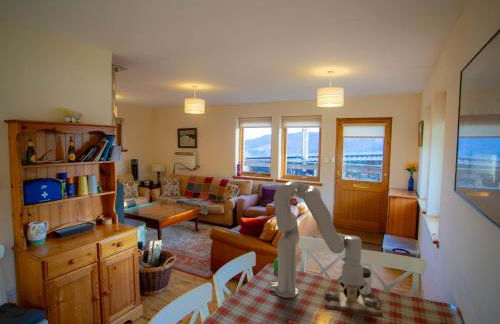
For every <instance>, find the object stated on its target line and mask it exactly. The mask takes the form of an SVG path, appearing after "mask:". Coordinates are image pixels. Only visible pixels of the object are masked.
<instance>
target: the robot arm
mask: <svg viewBox="0 0 500 324" xmlns="http://www.w3.org/2000/svg"><path fill="white" fill-rule="evenodd" d="M321 196H322V195H321V191H320V190H319V189H318V188H317V187H315V186H312V185H310V184H306V183H304V182H300V181H297V180H289V181H287V182H286V183H283V184H282V185H280V186H279V187H278V188H277V189H276V190H275V191H274V195H273V204H274V212H275V213H274V214H275V220H276V226H277V230H278V231H280V232H281V233H282V235H280V237H279V239H278V241H277V258H278V273H277V281H276V282H274V281H270V283H269V286H270V287H271V288H272V289H274V293H275V294H276V295H277V296H279V297H281V298H285V299H291V298H295V297H297V296H299V289H298V288H297V287H296V282H297V280H296V279H297V278H296V277H297V276H296V274H297V253H296V252H297V250H296V249H297V246H298V244H299V243H300V242H299V241H300V233H299V226H298V224H299V223H298V219H297V216H296V215H295V214H294V213H293V212H292V207H291V203H290V200H291V199H293V198H294V197H296V198H299V199H302V200H303V203H304V204H305V205H306V207H307V209H308V211H309V213H310V214H311V216H312V218H313V220H314V221H315V224H316V226H317V228H318V230H319V233H320V235H321V237H322V239H323V240H324V243H325V244H326V246H327V248H328V249H329V250H330V251H331V252H332V253H334V254H341V253H343V251H344V257H341V261H343V262H342V267H341V275H339V277H338V278H337V279H336V282H337V283H338V284H339V285H340V286H341V287H342V288H343V291H342V292H343V294H345V297H347V288H346V287H347V285H354V286H357V299H358V296H359V297H360V295H361V294H360V291H361V289H363V288H364V287H366V286H367V285H368V284H367V282H366V281H365V280H364V278H363V264H362V263H361V262H362V259H361V258H362V239H361V237H359V236H357V235H349V234H348V235H347V234H343V233H340V232H337V230H336V228H335V225H334V222H333V217H332V214H331V212H330V210H329V208H328V207H327V206H326V204H325V202H324V201H323V199H322V197H321Z"/></svg>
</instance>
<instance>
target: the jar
mask: <svg viewBox="0 0 500 324" xmlns="http://www.w3.org/2000/svg"><path fill="white" fill-rule="evenodd" d="M362 267H363V266H362ZM363 278H364V280H365V281H366V282H367V284H368V285H367V286H366V287H364V288H363V289H361V291H360V295H362V296H367V295H370V294H371V293H372V271H371V269H369V268H367V267H363Z"/></svg>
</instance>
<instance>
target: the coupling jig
mask: <svg viewBox="0 0 500 324" xmlns="http://www.w3.org/2000/svg"><path fill="white" fill-rule="evenodd" d="M343 292H344V291H342V292H341V291H330V290H324V308H328V309H333V310H342V311H347V312H353V313H354V312H355V313H362V314H369V315H374V316H383V311H382V309H381V306H380V303H379V299H378V297H375V296H369V295H368V296H367V295H362V294H360V297H359V296H358V299H357V302H354V301H347V298H346V297H345V294H343Z"/></svg>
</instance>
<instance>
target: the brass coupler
mask: <svg viewBox="0 0 500 324" xmlns="http://www.w3.org/2000/svg"><path fill="white" fill-rule="evenodd" d="M346 288H347V297H346V298H347V301H354V302H357V286H354V285H347V287H346Z"/></svg>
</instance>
